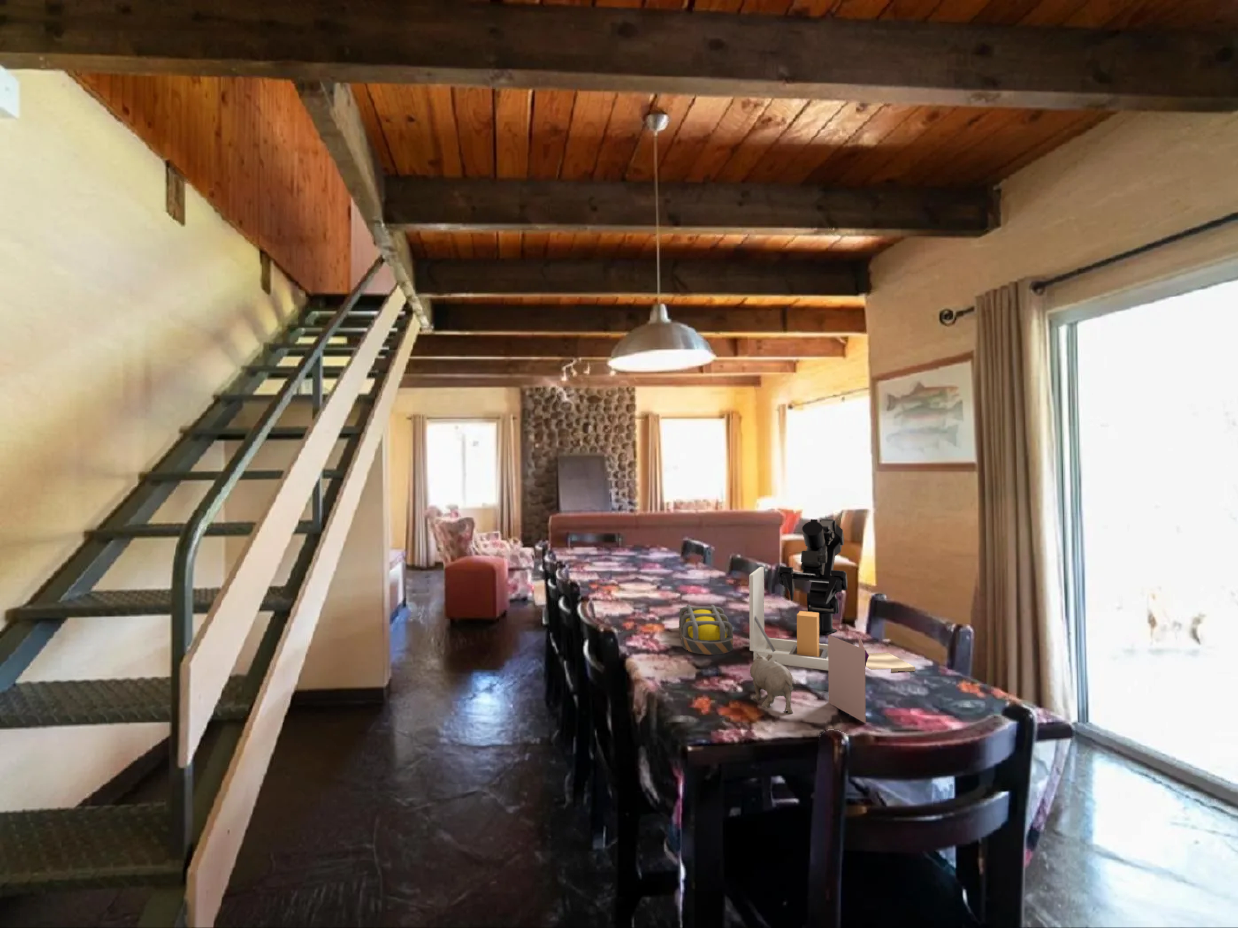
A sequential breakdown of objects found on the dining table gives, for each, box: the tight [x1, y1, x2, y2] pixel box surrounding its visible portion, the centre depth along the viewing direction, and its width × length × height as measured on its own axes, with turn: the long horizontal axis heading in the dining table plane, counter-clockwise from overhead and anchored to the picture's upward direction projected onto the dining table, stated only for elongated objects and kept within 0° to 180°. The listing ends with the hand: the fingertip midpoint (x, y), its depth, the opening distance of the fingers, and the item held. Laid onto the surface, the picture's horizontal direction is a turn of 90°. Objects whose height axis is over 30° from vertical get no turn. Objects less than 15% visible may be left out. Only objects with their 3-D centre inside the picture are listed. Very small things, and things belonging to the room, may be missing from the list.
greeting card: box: [827, 634, 869, 724], centre depth 129 cm, size 11×7×15 cm, turn 164°
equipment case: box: [748, 566, 828, 671], centre depth 162 cm, size 14×21×24 cm, turn 65°
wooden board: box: [865, 652, 916, 673], centre depth 159 cm, size 12×12×1 cm
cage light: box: [678, 604, 734, 656], centre depth 183 cm, size 15×8×30 cm
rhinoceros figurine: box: [749, 653, 794, 715], centre depth 135 cm, size 8×14×15 cm
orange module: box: [796, 610, 820, 657], centre depth 160 cm, size 5×5×12 cm
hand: (808, 601), depth 168 cm, fingers open, 9 cm apart
